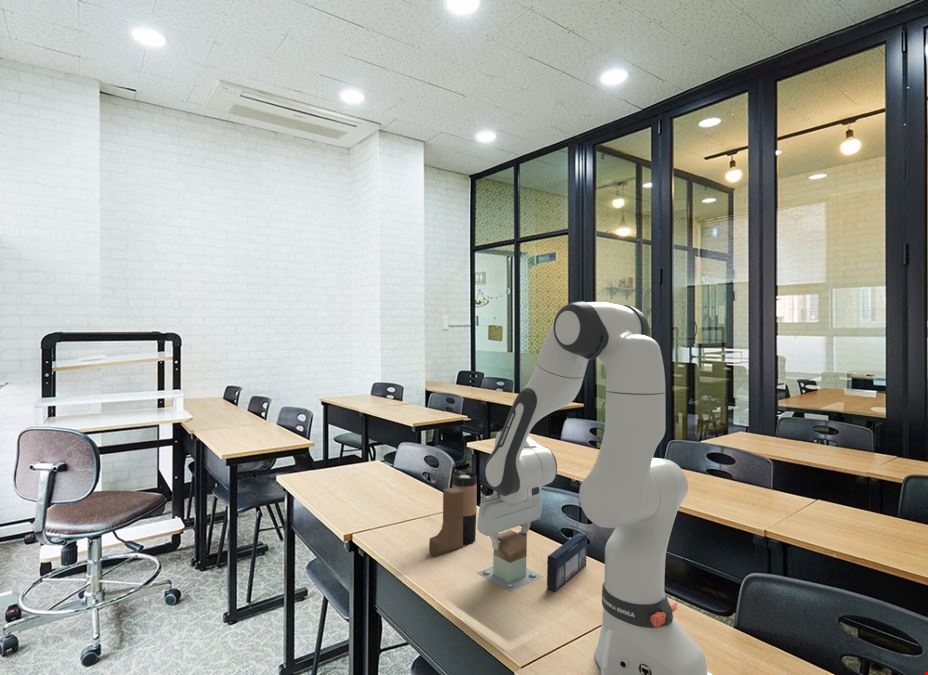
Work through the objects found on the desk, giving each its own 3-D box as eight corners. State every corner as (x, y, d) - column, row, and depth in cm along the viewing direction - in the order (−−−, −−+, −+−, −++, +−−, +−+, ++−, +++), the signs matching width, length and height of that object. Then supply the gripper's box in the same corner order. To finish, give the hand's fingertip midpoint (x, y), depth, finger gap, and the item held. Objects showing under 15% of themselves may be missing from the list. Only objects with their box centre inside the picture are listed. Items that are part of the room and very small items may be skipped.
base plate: (542, 582, 129) (542, 574, 129) (509, 597, 121) (509, 589, 121) (509, 565, 138) (509, 558, 138) (476, 578, 130) (476, 571, 130)
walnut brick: (526, 556, 129) (526, 536, 129) (510, 562, 125) (510, 543, 125) (510, 548, 134) (510, 529, 134) (493, 554, 130) (493, 535, 130)
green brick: (526, 575, 129) (526, 556, 129) (509, 582, 125) (509, 562, 125) (509, 567, 134) (509, 548, 134) (493, 573, 130) (493, 554, 130)
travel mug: (466, 547, 150) (467, 480, 149) (446, 540, 154) (447, 475, 154) (481, 538, 156) (481, 474, 155) (461, 532, 160) (462, 470, 160)
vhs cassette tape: (555, 599, 121) (555, 558, 121) (544, 595, 123) (545, 554, 123) (588, 571, 135) (588, 534, 135) (578, 568, 137) (578, 532, 137)
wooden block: (436, 559, 141) (437, 495, 141) (428, 553, 145) (429, 491, 145) (463, 552, 146) (463, 490, 146) (454, 546, 150) (455, 486, 150)
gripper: (489, 501, 120) (488, 559, 120) (545, 485, 133) (545, 537, 134) (472, 495, 125) (471, 550, 125) (528, 480, 138) (527, 530, 138)
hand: (510, 543), depth 130 cm, fingers open, 8 cm apart
